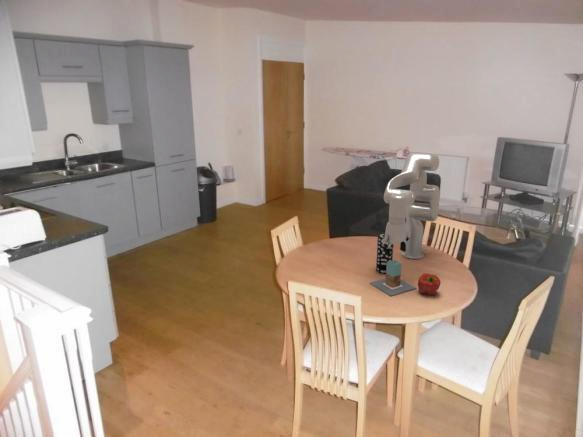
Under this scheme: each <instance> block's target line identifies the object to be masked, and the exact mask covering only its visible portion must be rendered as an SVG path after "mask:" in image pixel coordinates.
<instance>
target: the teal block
mask: <svg viewBox="0 0 583 437" xmlns="http://www.w3.org/2000/svg"><path fill="white" fill-rule="evenodd" d="M386 273H387V274H389V275H391V276H393V277H394V276H398V275H401V276H402V262H400V261H398V260H396V259H393V260H392V261H388V262H387V267H386Z"/></svg>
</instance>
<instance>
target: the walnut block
mask: <svg viewBox="0 0 583 437" xmlns="http://www.w3.org/2000/svg"><path fill="white" fill-rule="evenodd" d="M385 278H386V285H388V286H390V287H392V288H394V287H397V286H400V282H401V280H402V279H401V278H402V274H401V275H398V276H394V277H393V276H391V275H389V274H387V273H386V274H385Z"/></svg>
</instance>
